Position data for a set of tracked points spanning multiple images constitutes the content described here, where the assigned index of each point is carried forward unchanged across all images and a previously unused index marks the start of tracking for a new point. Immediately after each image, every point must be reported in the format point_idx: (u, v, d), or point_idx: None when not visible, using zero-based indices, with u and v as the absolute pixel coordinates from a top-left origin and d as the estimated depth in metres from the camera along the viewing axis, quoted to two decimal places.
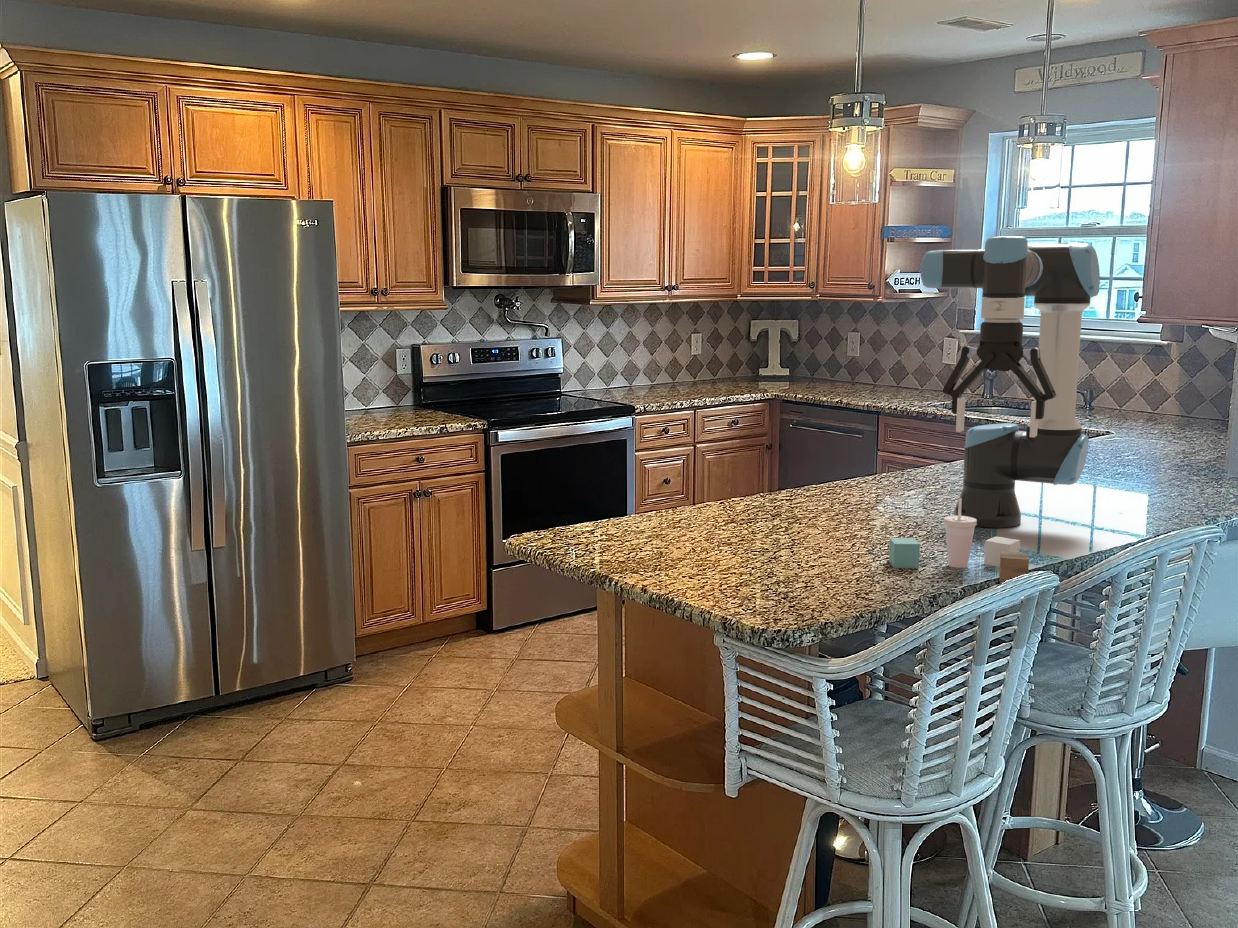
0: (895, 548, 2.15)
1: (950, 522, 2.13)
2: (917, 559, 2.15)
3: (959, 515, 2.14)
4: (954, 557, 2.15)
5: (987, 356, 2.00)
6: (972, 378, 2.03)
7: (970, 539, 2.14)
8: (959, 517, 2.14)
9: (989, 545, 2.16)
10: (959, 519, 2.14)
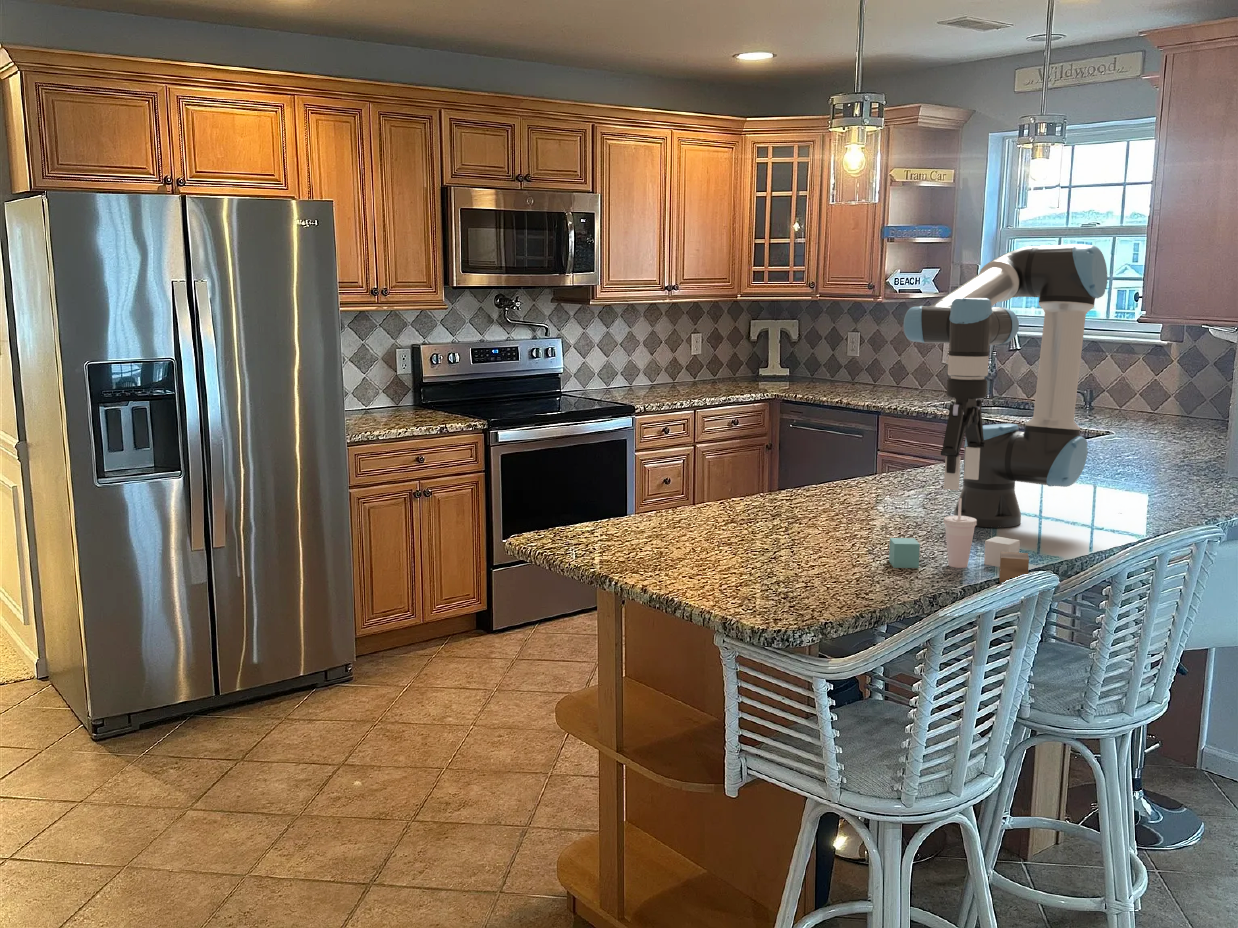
0: (895, 548, 2.15)
1: (950, 522, 2.13)
2: (917, 559, 2.15)
3: (959, 515, 2.14)
4: (954, 557, 2.15)
5: None
6: None
7: (970, 539, 2.14)
8: (959, 517, 2.14)
9: (989, 545, 2.16)
10: (959, 519, 2.14)
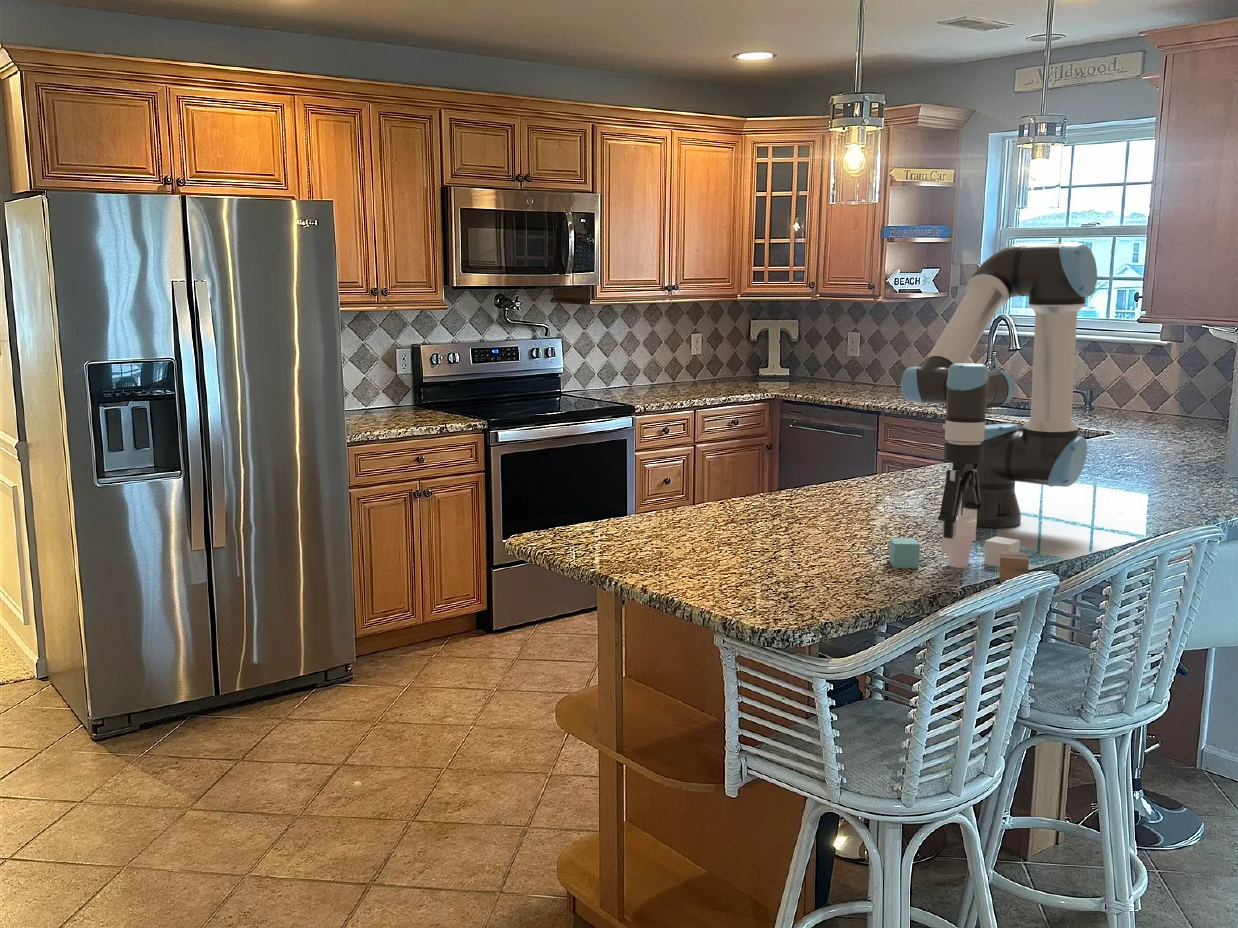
0: (895, 548, 2.15)
1: None
2: (917, 559, 2.15)
3: (959, 515, 2.14)
4: (954, 557, 2.15)
5: None
6: None
7: (970, 539, 2.14)
8: (959, 517, 2.14)
9: (989, 545, 2.16)
10: (959, 519, 2.14)
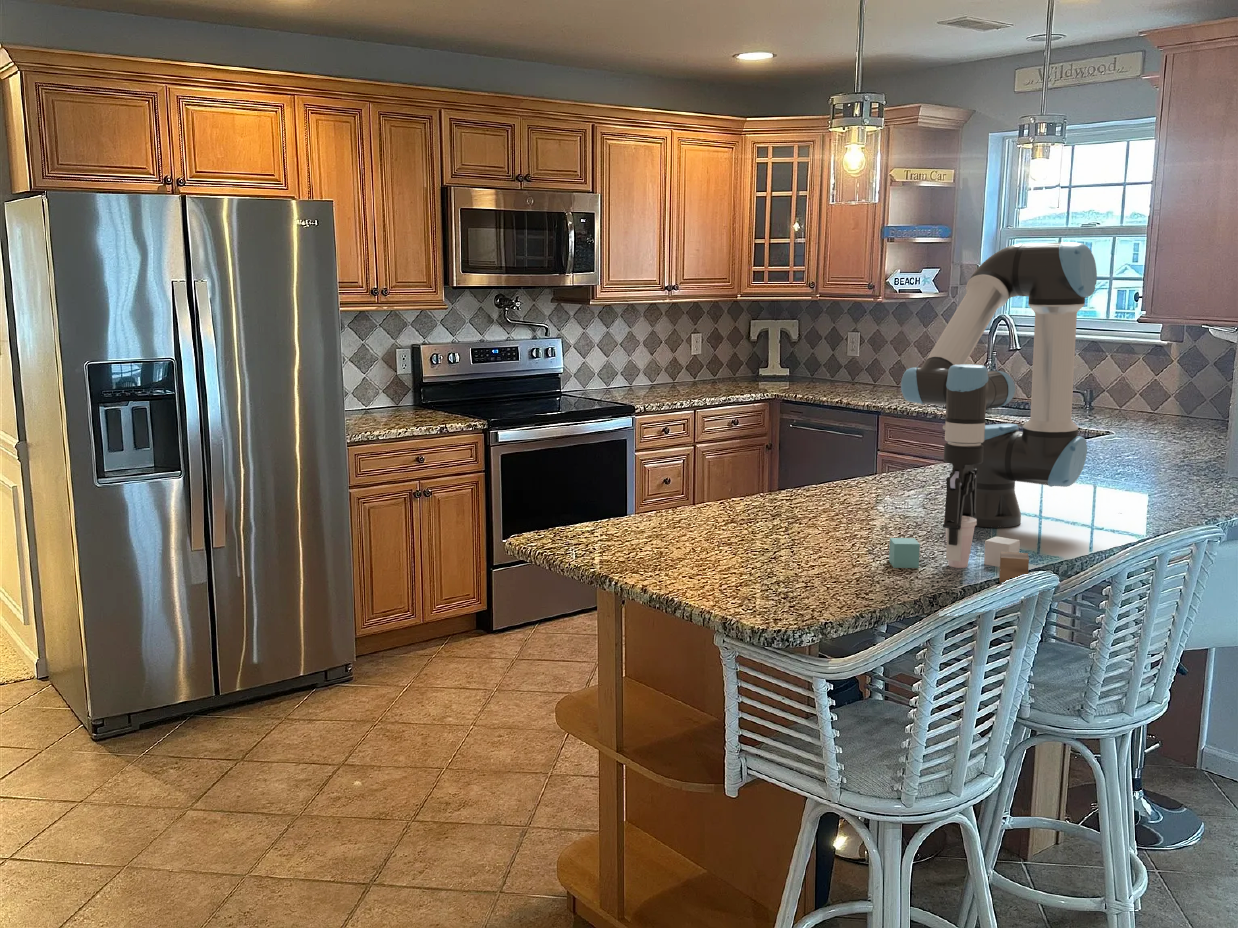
0: (895, 548, 2.15)
1: None
2: (917, 559, 2.15)
3: None
4: None
5: None
6: None
7: (970, 539, 2.13)
8: None
9: (989, 545, 2.16)
10: None
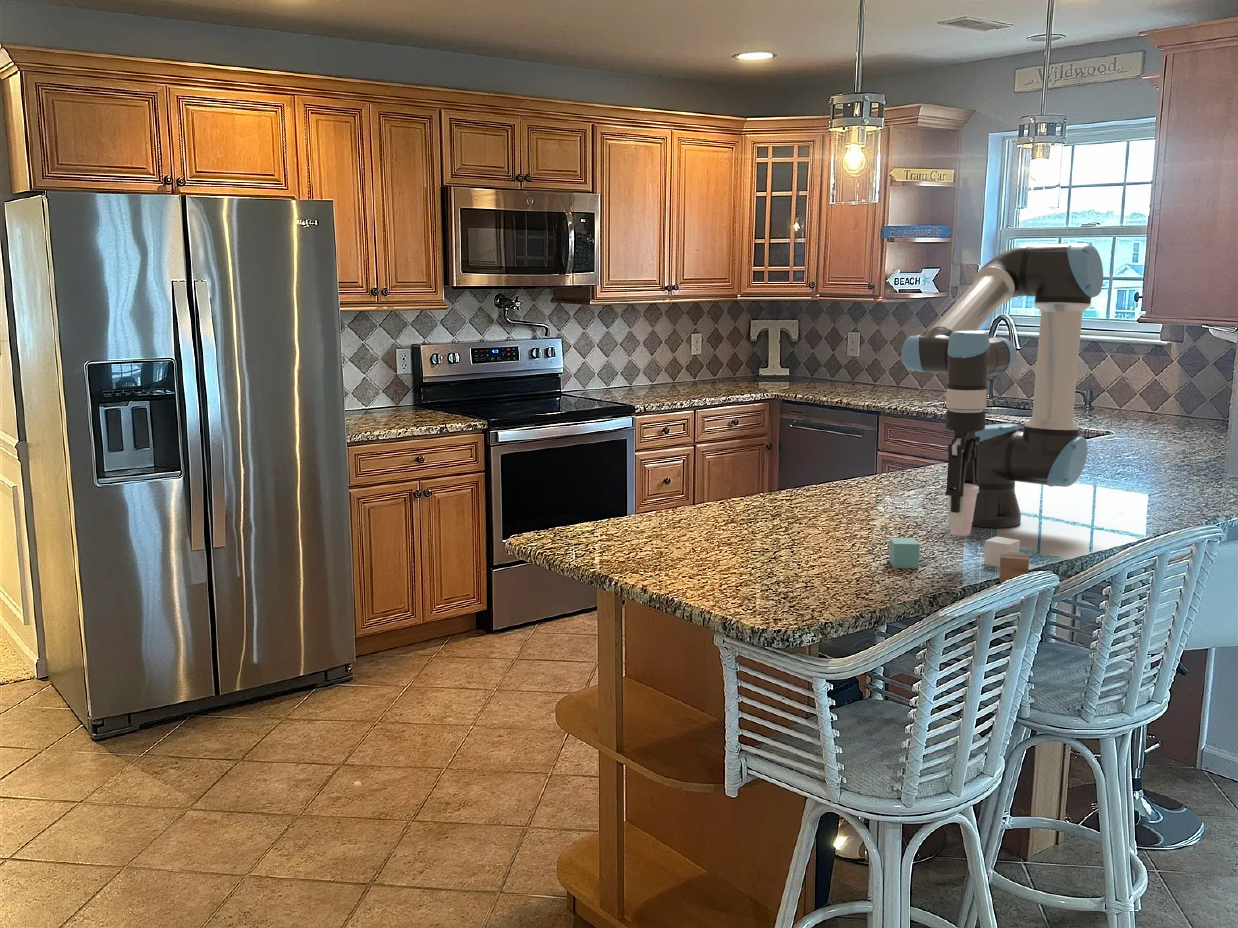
0: (895, 548, 2.15)
1: None
2: (917, 559, 2.15)
3: None
4: None
5: None
6: None
7: (972, 506, 2.13)
8: None
9: (989, 545, 2.16)
10: None
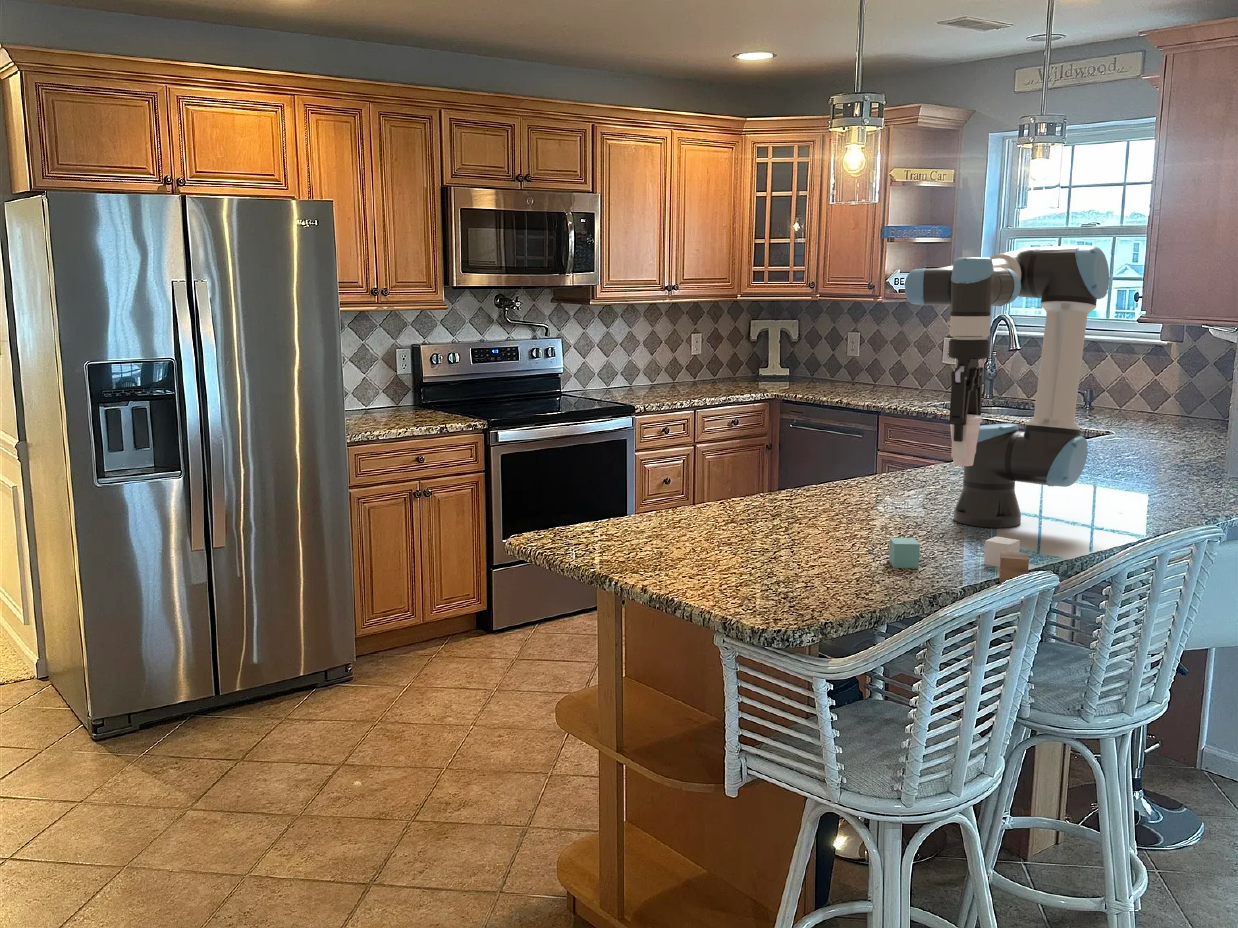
0: (895, 548, 2.15)
1: None
2: (917, 559, 2.15)
3: None
4: None
5: None
6: None
7: (975, 436, 2.10)
8: None
9: (989, 545, 2.16)
10: None
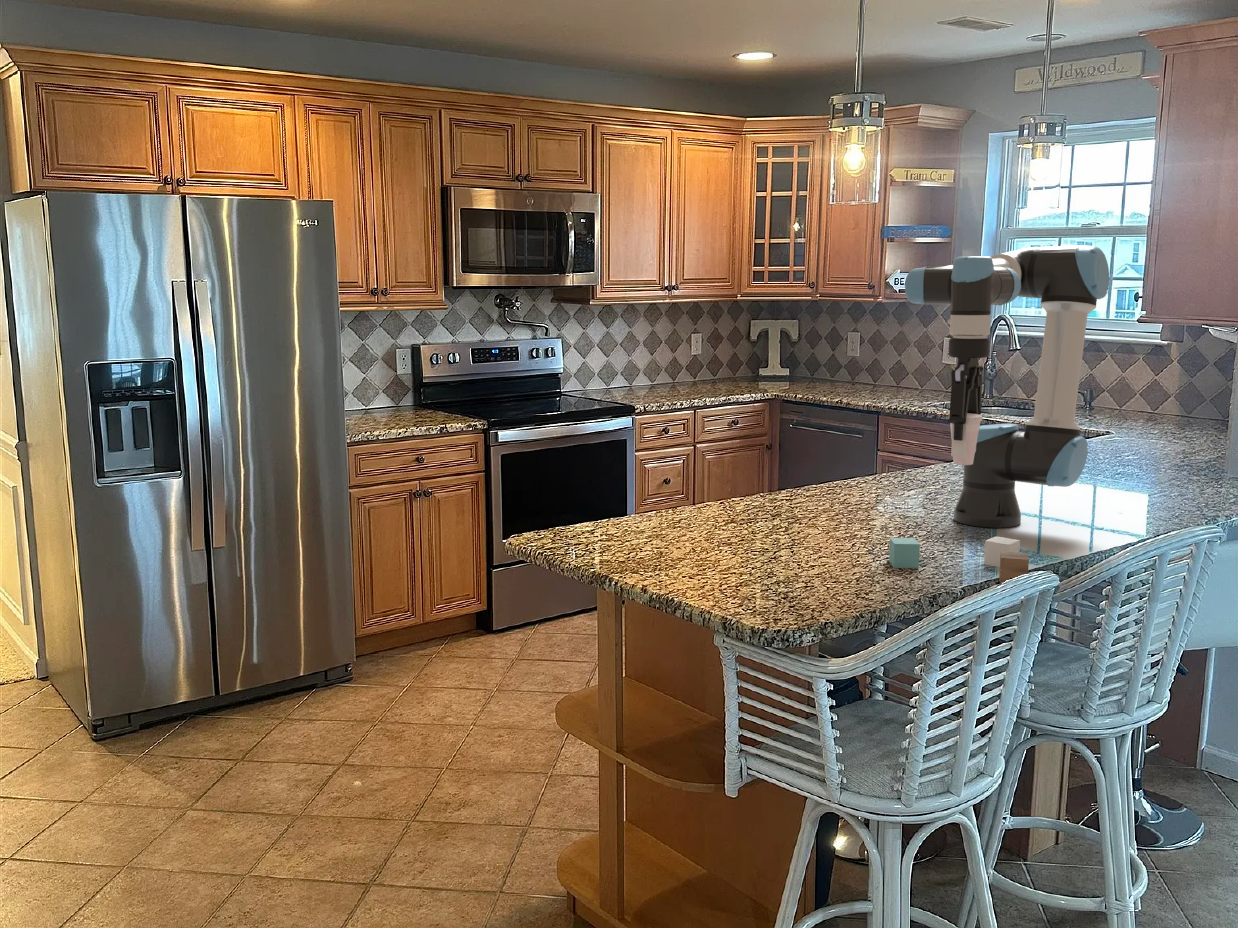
0: (895, 548, 2.15)
1: None
2: (917, 559, 2.15)
3: None
4: None
5: None
6: None
7: (975, 435, 2.10)
8: None
9: (989, 545, 2.16)
10: None
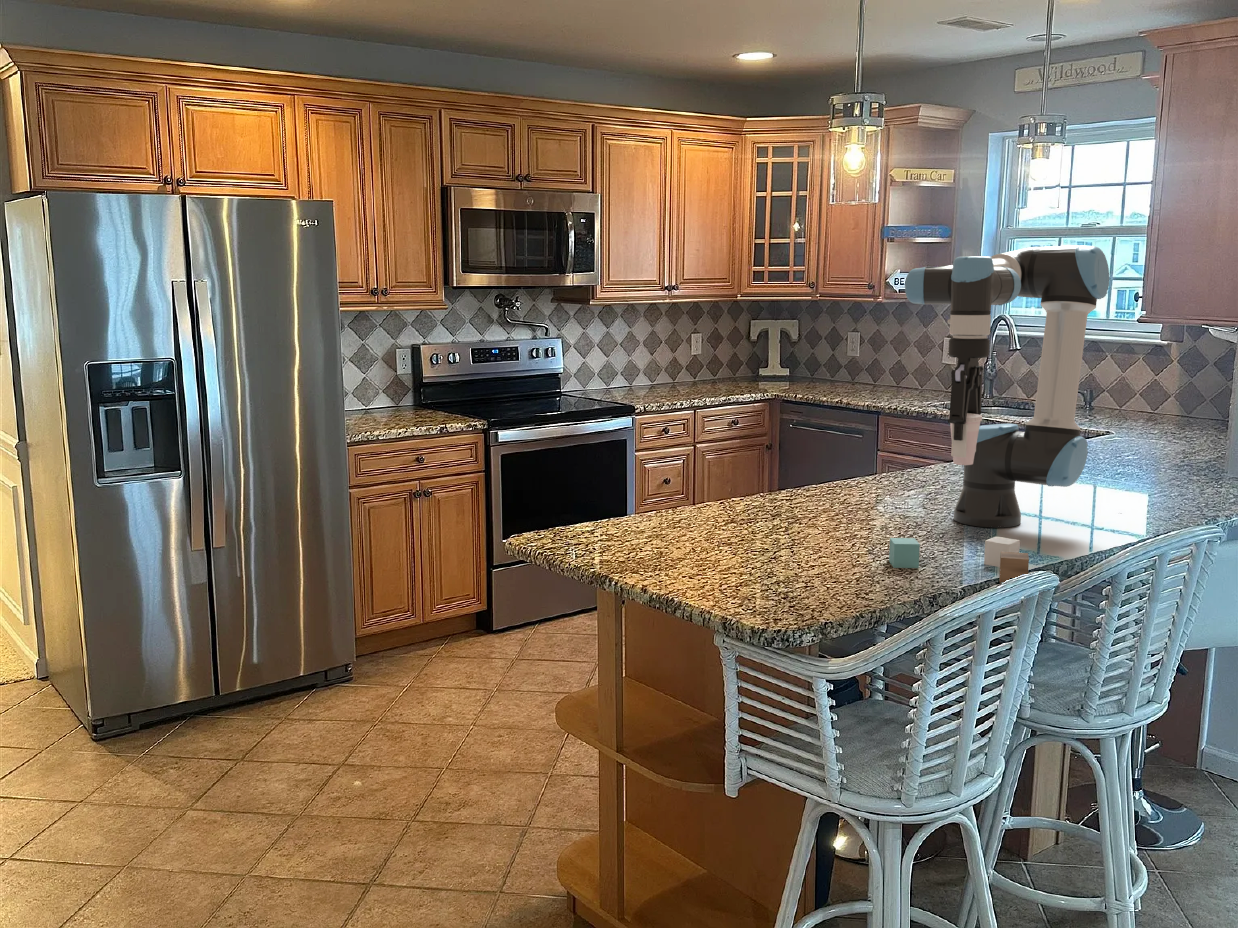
0: (895, 548, 2.15)
1: None
2: (917, 559, 2.15)
3: None
4: None
5: None
6: None
7: (975, 435, 2.10)
8: None
9: (989, 545, 2.16)
10: None
